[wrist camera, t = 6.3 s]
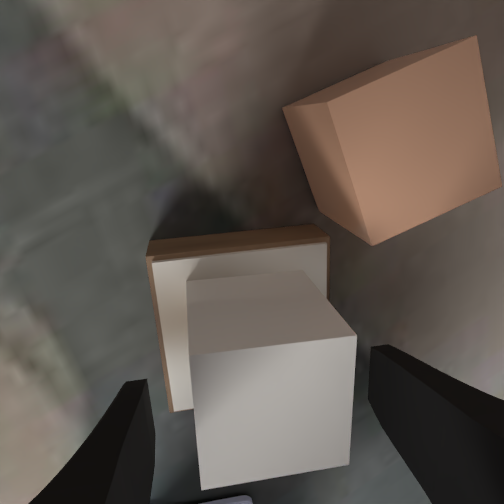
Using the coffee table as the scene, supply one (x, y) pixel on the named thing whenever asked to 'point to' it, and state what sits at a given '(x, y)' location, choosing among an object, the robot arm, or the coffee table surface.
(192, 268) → the plinth
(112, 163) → the coffee table surface
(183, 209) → the coffee table surface
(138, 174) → the coffee table surface
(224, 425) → the stone block
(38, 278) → the coffee table surface
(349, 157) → the terracotta block
